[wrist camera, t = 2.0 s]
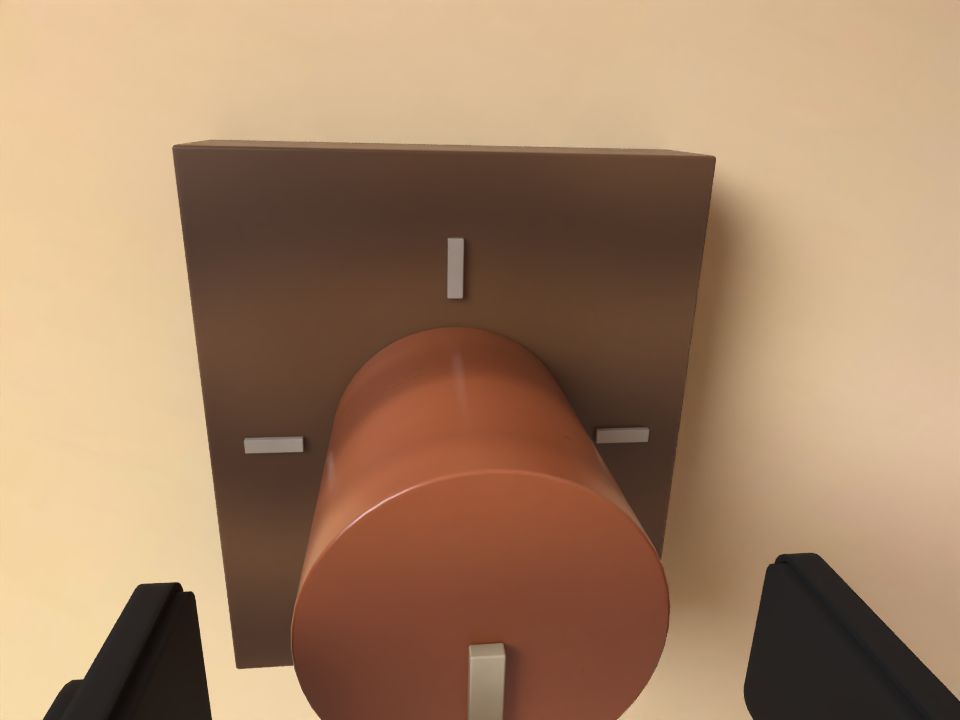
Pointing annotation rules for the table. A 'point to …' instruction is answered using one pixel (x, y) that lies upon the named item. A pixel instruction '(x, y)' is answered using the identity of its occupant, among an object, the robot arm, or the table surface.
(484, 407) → the rotary dial knob
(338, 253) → the dial base plate
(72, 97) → the table surface
